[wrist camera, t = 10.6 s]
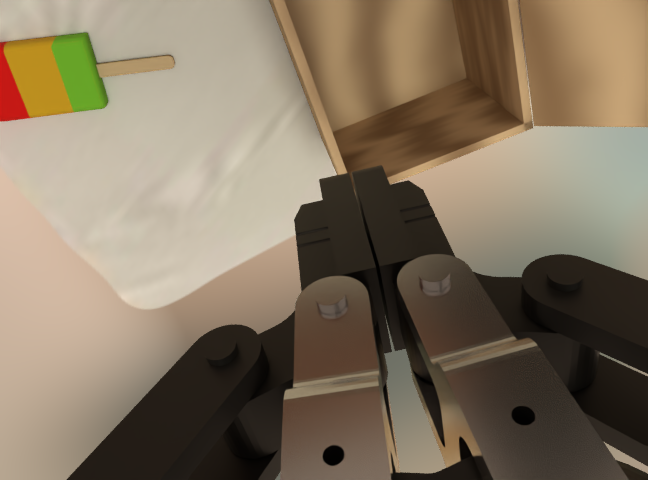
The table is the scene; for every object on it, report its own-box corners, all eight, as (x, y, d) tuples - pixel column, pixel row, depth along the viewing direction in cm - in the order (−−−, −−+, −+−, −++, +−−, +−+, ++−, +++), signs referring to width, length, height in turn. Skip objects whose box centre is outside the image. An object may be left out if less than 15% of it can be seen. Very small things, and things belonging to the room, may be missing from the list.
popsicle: (-43, 45, 40) (-53, 52, 38) (166, 21, 41) (164, 27, 40) (-11, 117, 43) (-19, 126, 41) (182, 92, 44) (181, 100, 43)
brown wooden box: (322, 139, 48) (348, 200, 39) (225, -115, 37) (231, -112, 28) (471, 79, 48) (533, 127, 39) (420, -199, 36) (491, -223, 27)
